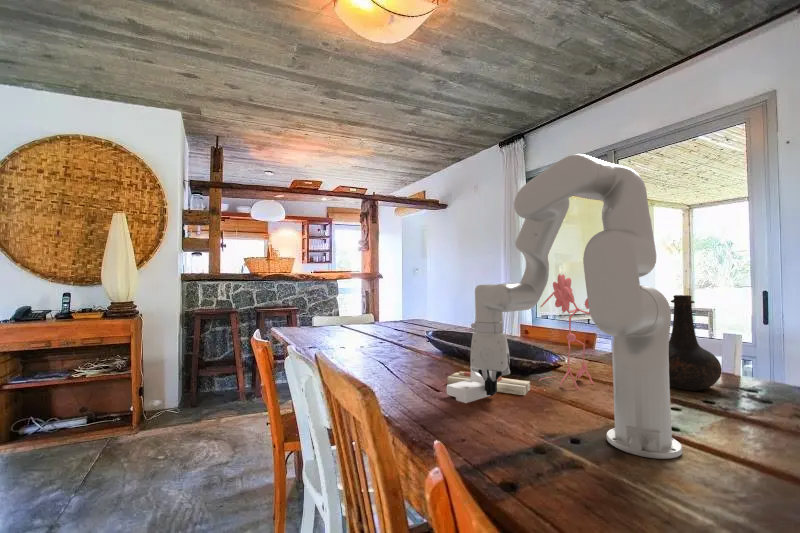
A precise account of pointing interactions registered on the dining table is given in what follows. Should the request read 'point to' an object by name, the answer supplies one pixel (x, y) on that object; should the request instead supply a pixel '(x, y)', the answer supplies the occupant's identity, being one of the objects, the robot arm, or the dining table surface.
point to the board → (498, 384)
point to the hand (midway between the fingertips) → (491, 394)
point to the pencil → (470, 375)
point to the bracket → (469, 388)
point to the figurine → (563, 299)
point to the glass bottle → (689, 352)
